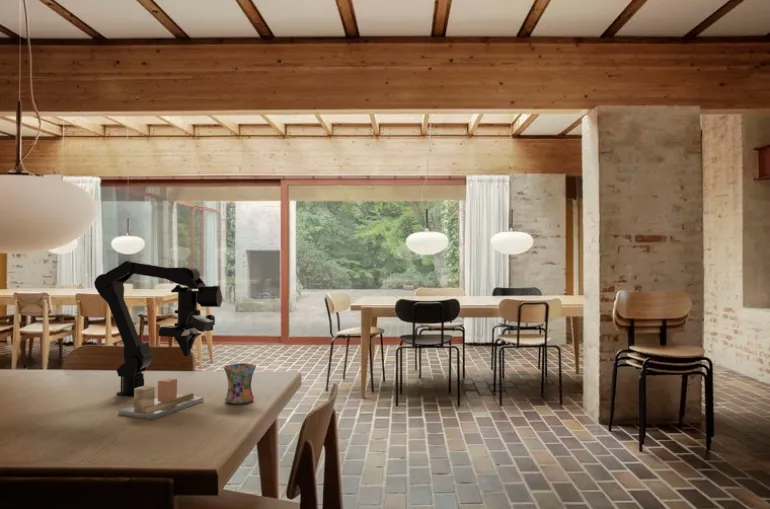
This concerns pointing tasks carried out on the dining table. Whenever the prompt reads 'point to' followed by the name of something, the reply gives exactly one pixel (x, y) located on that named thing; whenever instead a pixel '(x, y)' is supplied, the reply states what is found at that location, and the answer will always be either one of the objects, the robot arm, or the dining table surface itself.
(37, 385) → the dining table surface
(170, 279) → the robot arm
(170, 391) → the slide leg
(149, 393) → the bar
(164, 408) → the flange plate
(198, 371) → the dining table surface
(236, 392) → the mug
